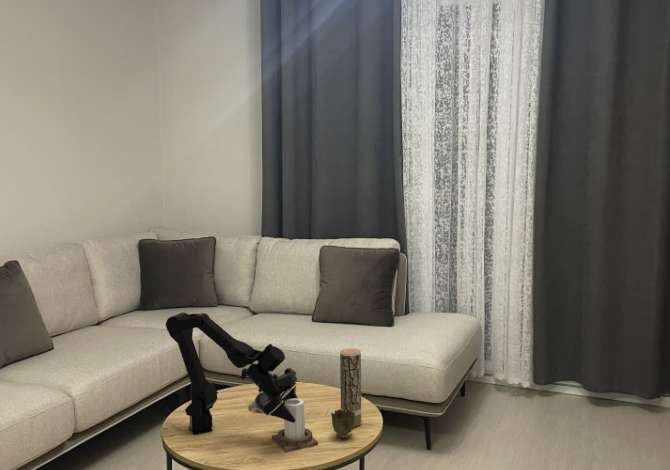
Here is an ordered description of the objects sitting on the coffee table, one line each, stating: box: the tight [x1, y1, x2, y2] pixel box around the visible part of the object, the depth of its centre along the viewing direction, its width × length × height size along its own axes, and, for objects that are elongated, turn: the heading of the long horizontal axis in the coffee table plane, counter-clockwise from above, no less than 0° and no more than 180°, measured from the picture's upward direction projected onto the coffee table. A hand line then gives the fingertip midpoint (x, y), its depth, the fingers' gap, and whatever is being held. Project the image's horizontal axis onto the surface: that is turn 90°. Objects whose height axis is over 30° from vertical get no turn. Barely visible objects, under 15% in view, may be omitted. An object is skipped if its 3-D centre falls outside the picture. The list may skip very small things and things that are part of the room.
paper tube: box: [339, 348, 362, 428], centre depth 224 cm, size 7×7×25 cm
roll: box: [283, 398, 306, 440], centre depth 212 cm, size 6×6×12 cm
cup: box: [330, 408, 355, 440], centre depth 215 cm, size 8×7×8 cm
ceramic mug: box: [248, 391, 268, 414], centre depth 240 cm, size 11×8×8 cm
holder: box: [271, 428, 319, 453], centre depth 212 cm, size 11×11×3 cm
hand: (298, 415), depth 211 cm, fingers open, 9 cm apart
